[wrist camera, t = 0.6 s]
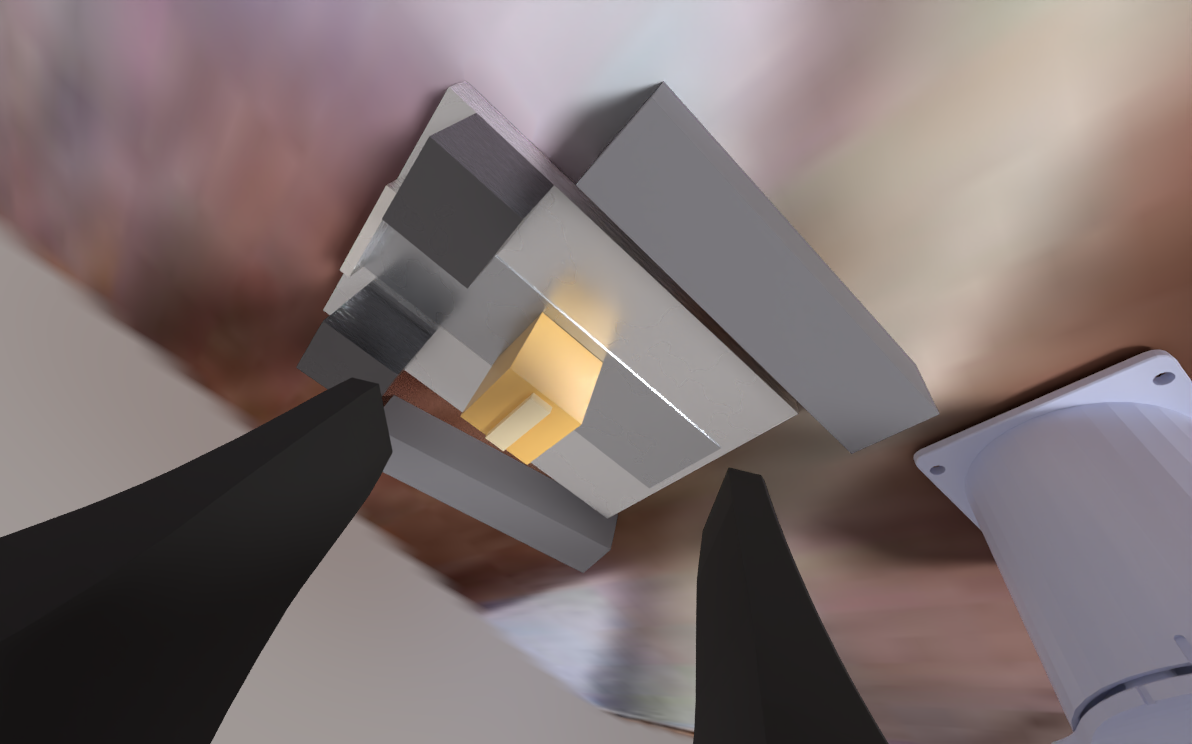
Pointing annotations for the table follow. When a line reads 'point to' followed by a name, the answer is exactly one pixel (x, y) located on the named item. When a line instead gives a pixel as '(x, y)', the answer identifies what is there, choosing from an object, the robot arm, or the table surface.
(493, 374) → the orange l block
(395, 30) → the table surface
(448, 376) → the panel
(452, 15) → the table surface
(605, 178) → the duct
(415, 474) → the duct
